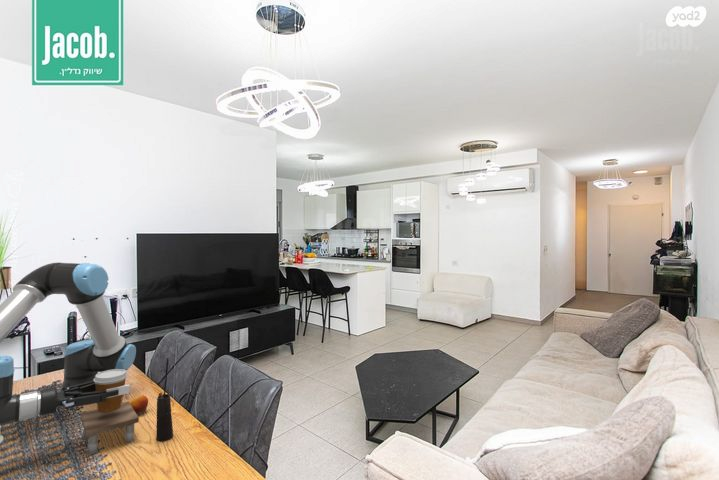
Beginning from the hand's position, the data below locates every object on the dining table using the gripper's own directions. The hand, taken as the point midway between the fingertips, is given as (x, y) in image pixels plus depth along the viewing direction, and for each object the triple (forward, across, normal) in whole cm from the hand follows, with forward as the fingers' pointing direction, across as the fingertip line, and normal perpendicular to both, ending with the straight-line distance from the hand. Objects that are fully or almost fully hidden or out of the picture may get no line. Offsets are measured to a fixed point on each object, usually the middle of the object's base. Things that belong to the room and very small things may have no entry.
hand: (126, 384), depth 122 cm
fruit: (+6, -14, -17) cm, 23 cm away
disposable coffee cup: (-5, 0, -7) cm, 9 cm away
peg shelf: (-5, 0, -17) cm, 18 cm away
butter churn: (+9, +10, -18) cm, 22 cm away
